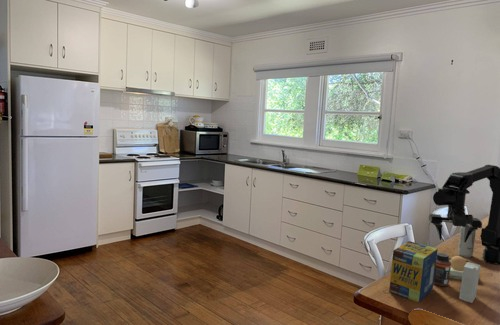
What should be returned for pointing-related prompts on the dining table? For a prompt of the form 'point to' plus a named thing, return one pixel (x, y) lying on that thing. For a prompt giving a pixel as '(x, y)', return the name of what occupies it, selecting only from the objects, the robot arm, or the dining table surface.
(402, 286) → the protein box
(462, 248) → the energy drink can
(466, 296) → the skincare box
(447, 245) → the dining table surface
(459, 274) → the tray
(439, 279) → the supplement bottle
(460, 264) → the ball
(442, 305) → the dining table surface
